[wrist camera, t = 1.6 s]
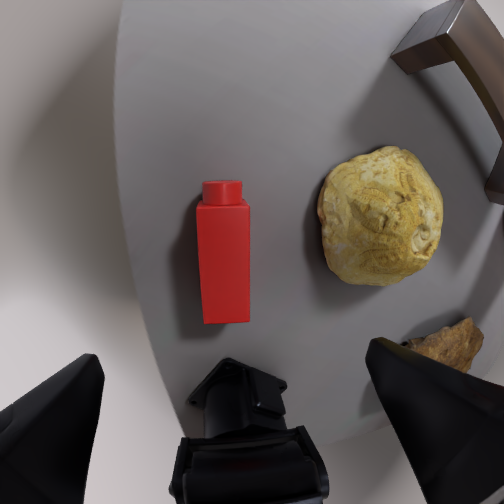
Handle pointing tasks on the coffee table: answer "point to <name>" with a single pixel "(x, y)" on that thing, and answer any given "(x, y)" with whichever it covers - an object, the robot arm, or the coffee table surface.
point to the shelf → (463, 61)
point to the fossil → (379, 217)
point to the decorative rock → (451, 344)
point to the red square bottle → (224, 252)
